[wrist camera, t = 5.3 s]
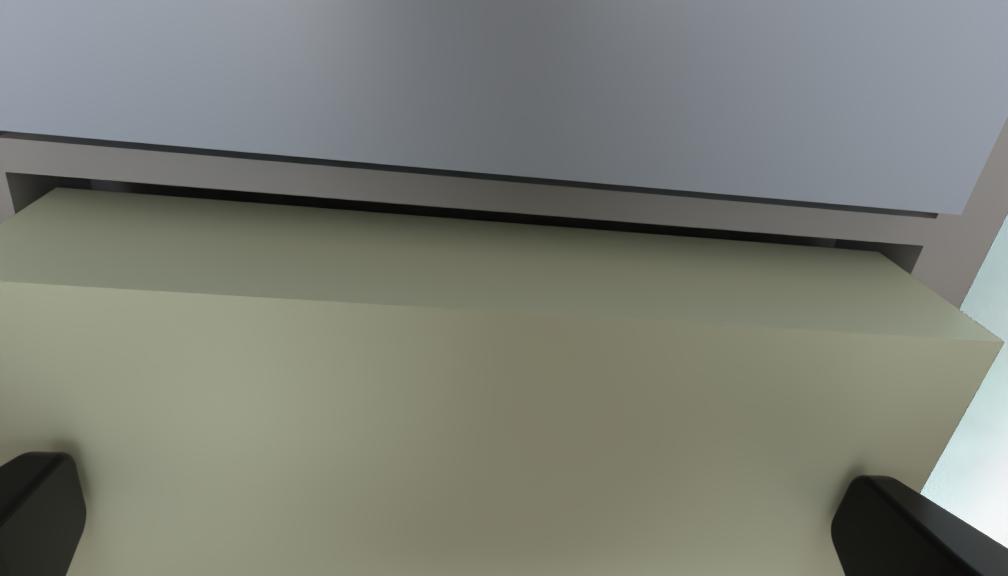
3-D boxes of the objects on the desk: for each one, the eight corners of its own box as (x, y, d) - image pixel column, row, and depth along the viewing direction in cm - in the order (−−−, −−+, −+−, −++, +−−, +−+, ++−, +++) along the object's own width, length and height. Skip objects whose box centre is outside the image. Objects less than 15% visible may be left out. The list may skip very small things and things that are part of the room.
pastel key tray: (177, 701, 18) (119, 871, 15) (-38, -427, 8) (-392, -695, 4) (653, 693, 20) (695, 842, 17) (1000, -230, 10) (1296, -318, 6)
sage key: (115, 469, 10) (29, 610, 8) (55, 187, 8) (-82, 276, 6) (778, 486, 12) (854, 610, 9) (878, 251, 9) (1003, 341, 7)
